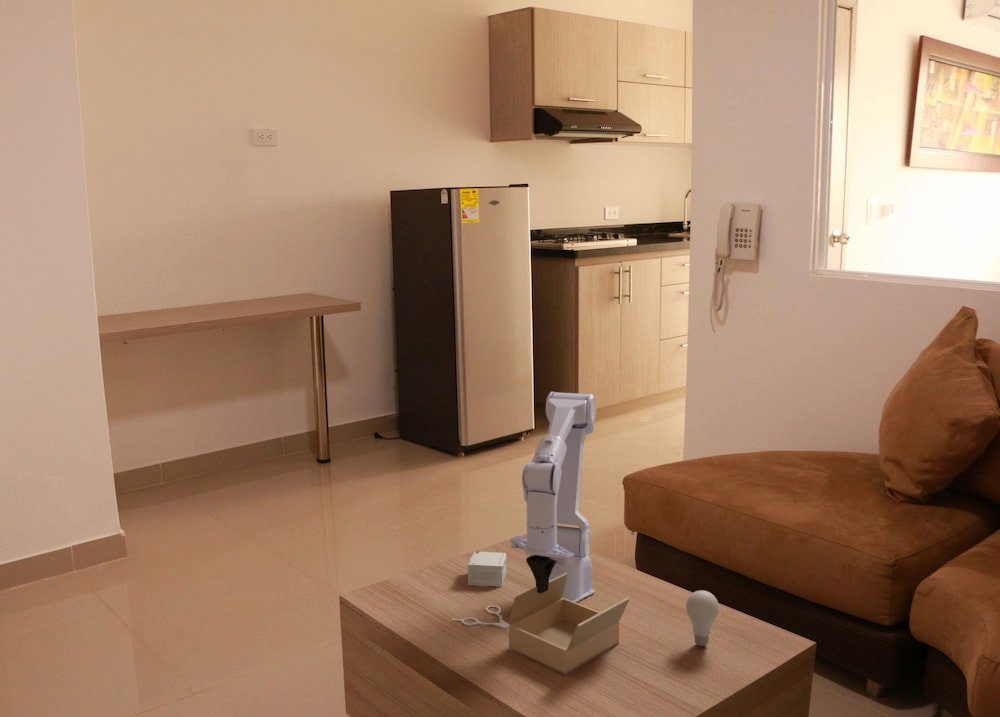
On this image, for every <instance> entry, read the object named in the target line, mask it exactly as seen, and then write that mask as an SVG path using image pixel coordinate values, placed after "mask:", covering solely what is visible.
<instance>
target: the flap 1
mask: <svg viewBox="0 0 1000 717" xmlns="http://www.w3.org/2000/svg"><path fill="white" fill-rule="evenodd" d="M567 575H568V573H564V574H562V575H560V576H558V577H556V578H554V579H552V580H550V581H549V586H548V590H547V591H545V592H543V593H538V592H537V590H538V588H537V587H536V586H535V587H533V588H531V589H530V590H527V591H525V592H522V593H520V594H519V595H516V596H515V597H514V599H513V604H512V609H511V612H510V617H509V621H508V624H509V625H510V624H512V623H514V622H516V621H518V620H520V619H522V618H524V617H526V616H528V615H530V614H532V613H534V612H536V611H538V610H540V609H542V608H544V607H546V606H548V605H550V604H552V603H554V602H555V601H557V600H559V599H561V598H562V595H563V591H564V587H565V583H566V579H567Z"/></svg>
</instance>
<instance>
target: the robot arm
mask: <svg viewBox="0 0 1000 717" xmlns="http://www.w3.org/2000/svg"><path fill="white" fill-rule="evenodd" d="M596 400H597V399H596V397H595V396H594V394H593V393H573V392H571V393H570V392H557V391H556V392H555V391H550V392H549V393H548V395H547V397H546V402H545V415H546V418H547V420H548V422H549V426H548V430H547V433H546V435H545V436H543V437H541V438H540V439H539V441H538V443H537V446H536V449H535V451H534V454H533V457H532V460H531V461H530V462H528V464H524V466H523V469H522V474H521V486H522V490H523V497H524V498H523V499H524V502H526V537H525V536H521V535H516V536H513V537H511V538H510V547H511V548H512V549H520V550H523V551H524V554H525V555H528V557H525V558H526V559H525V560H526V563H527V565H528V567H529V569H530V571H531V572H532V575H533V577H534V580H535V587H537V588H538V590H537V592H538V593H543V592H545V591H547V590H548V586H549V581H550V580H552V579H554V578H556V577H558V576H560V575H562V574H564V573H568V575H567V579H566V583H565V587H564V591H563V595H562V598H566V599H568V600H571V601H573V602H576V603H579V602H580V601H581V600H584V599H585V598H588V597H589V596H591V595H593V594H595V593H596V591H595V589H593V563H592V560H591V558H590V556H589V553H590V549H591V548H590V547H591V532H590V529H591V524H590V523H589V520H588V519H587V518H586V517H584V515H583V514H582V513H580V512H579V504H580V493H581V492H580V491H581V482H582V481H581V479H582V478H581V477H582V471H583V470H582V468H583V456H584V445H585V440H586V438H587V437H586V436H587V435H590V434H593V433H594V429H595V424H596V414H597V413H596V412H597V401H596ZM559 524H561V525H559ZM562 524H563V525H570V526H563V525H562ZM573 526H574V527H573ZM575 526H576V527H575Z"/></svg>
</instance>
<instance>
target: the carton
mask: <svg viewBox="0 0 1000 717" xmlns="http://www.w3.org/2000/svg"><path fill="white" fill-rule="evenodd" d="M600 612H601V611H598V610H596V609H593V608H591V607H588V606H585V605H583V604H580V603H579V602H573V601H571V600H568V599H566V598H561V599H559V600H557V601H555V602H553V603H551V604H549V605H547V606H545V607H543V608H541V609H539V610H537V611H535V612H533V613H531V614H529V615H527V616H525V617H523V618H521V619H519V620H517V621H515V622H513V623H511V624H510V623H509V631H508V650H509V651H510V652H513V653H515V654H517V655H519V656H521V657H523V658H526V659H528V660H531V661H533V662H534V663H536V664H539V665H541V666H543V667H545V668H547V669H549V670H552V672H556V673H558V674H560V675H562V676H564V677H566V676H568V675H569V674H571V673H573V672H574V671H576V670H577V669H579V668H581V667H583V666H584V665H586V664H588V663H589V662H591V661H593V660H594V659H596V658H597V657H600V656H601V655H602V654H604V653H605V652H608V651H609V650H611V649H613V648H615V647H616V646H618V645H620V621H619V622H618V623H616V624H614V625H612V626H611V627H609V628H607V629H605V630H604V631H602V632H600V633H598V634H597V635H595V636H593V637H591V638H590V639H588V640H586V641H584V642H583V643H581V644H579V645H577V646H576V647H574V648H572V649H570V650H569V651H568V650H567V648H568V646H569V643H570V641H571V639H572V636H573V634H574V632H575V629H576V627H577V625H578V624H580V623H582V622H584V621H585V620H587V619H589V618H591V617H593V616H594V615H596V614H598V613H600Z"/></svg>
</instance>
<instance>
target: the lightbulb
mask: <svg viewBox="0 0 1000 717" xmlns="http://www.w3.org/2000/svg"><path fill="white" fill-rule="evenodd" d="M719 604H720V603H719V602H718V600H717V598H716V597H715V595H714V594H712V593H711V592H709V591H707V590H701V589H700V590H696V591H694V592H692V593H691V594H690V595H689V596H688V598H687V600H686V603H685V610H686V613H687V616H688V617H689V619H690V620H691V623H692V629H693V630H692V631H693V634H694V643H695V644H696V645H697V646H699V647H702V648H703V647H704V646H707V645H708V644H709V637H710V634H711V628H712V625H713V623H714V622H715V620H716V619H717V616H718V615H719V612H720V605H719Z"/></svg>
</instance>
